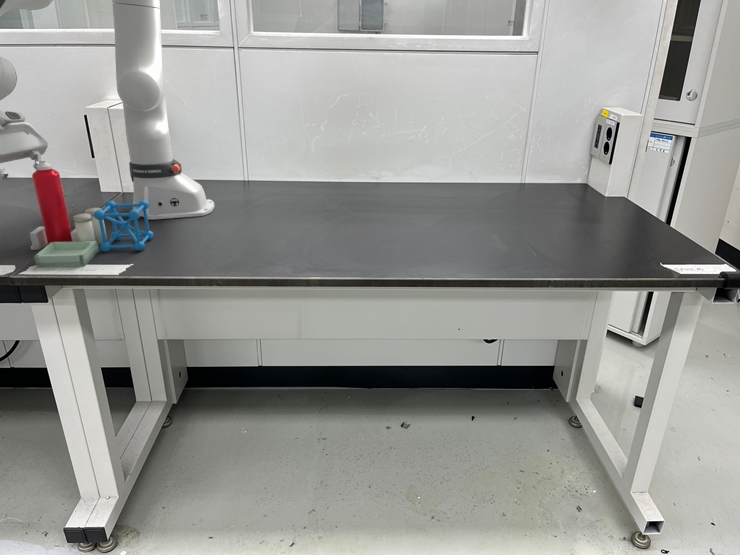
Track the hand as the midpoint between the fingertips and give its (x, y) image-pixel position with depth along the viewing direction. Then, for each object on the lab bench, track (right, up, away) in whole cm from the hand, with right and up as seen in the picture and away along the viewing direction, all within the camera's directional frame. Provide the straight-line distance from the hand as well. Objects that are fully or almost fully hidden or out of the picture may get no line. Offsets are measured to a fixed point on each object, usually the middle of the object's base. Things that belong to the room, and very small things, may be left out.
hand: (23, 173), depth 128 cm
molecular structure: (+22, -17, +5) cm, 28 cm away
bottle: (+6, -17, +4) cm, 18 cm away
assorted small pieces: (+9, -18, +1) cm, 20 cm away
